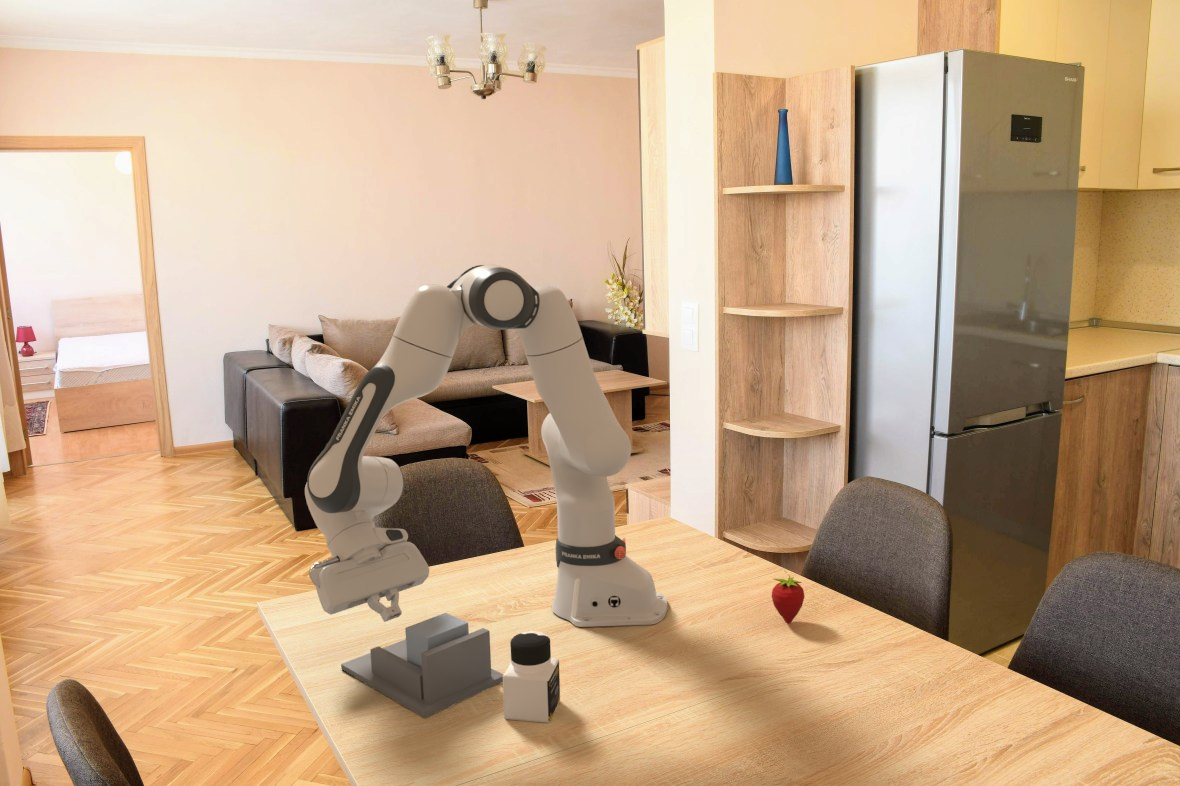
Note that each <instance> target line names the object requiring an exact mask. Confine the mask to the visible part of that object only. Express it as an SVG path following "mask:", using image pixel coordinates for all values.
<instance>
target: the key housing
mask: <svg viewBox="0 0 1180 786" xmlns="http://www.w3.org/2000/svg"><path fill="white" fill-rule="evenodd" d="M490 634H491V633H490V630H489V629H488V628H487V629H486V628H484V627H482V628H480V629H477V630H475V631H471V632H470V633H469V634H467V635H465V636H462V637H460V638H457V639H455V640H452V641H450V642H447V643H445V644H442V645H440V646H437V647H435V648H432V649H430V650H427V651H425V652H422V653H421V658H422V669H421V668H419V667H417V666H415V665H414V664H412V663H410V662H408V661H407V647H406V638H405V639H403V640H400V641H398V642H395V643H392V644H389V645H387V646H385V647H381V646H375V647H373V648H371V649H370V652H368V653H366V654H364V655H361V656H359V657H356V658H354V659H351V660H348V661H345V662H343V663H341V665H340V666H341V669H342V670H341V671H343V670H344V671H343V672H345V671H346V672H347V673H346V672H345V673H346V674H348V673H349V674H348V675H350V674H351V675H350V676H352V675H353V676H354V677H353V676H352V677H353V678H355V677H356V678H355V679H357V678H358V679H359V680H358V679H357V680H358V681H361V682H362V683H363V684H365V683H366V684H365V685H367V686H368V687H371V688H373V689H374V690H375V691H377V690H378V691H377V692H379V693H380V694H383V695H384V696H385V697H387V698H389V699H391V700H393V701H394V702H396V703H398V704H400V705H402V706H403V707H405V708H407V709H408V710H409V711H411V712H414V713H415V714H417V715H419V716H420V717H422V718H423V719H426V718H429V717H431V716H433V715H435V714H438V713H439V712H441V711H444V710H446V709H448V708H450V707H452V706H454V705H456V704H460V703H461V702H463V701H465V700H467V699H469V698H471V697H473V696H476V695H478V694H480V693H482V692H484V691H487V690H489V689H490V688H491V689H492V688H493V687H496V686H497V685H500V684H503V675H504V674H503V673H502V672H499V671H498V670H495V669H493V668H492V658H491V656H492V653H491V638H490V636H491V635H490Z"/></svg>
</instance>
